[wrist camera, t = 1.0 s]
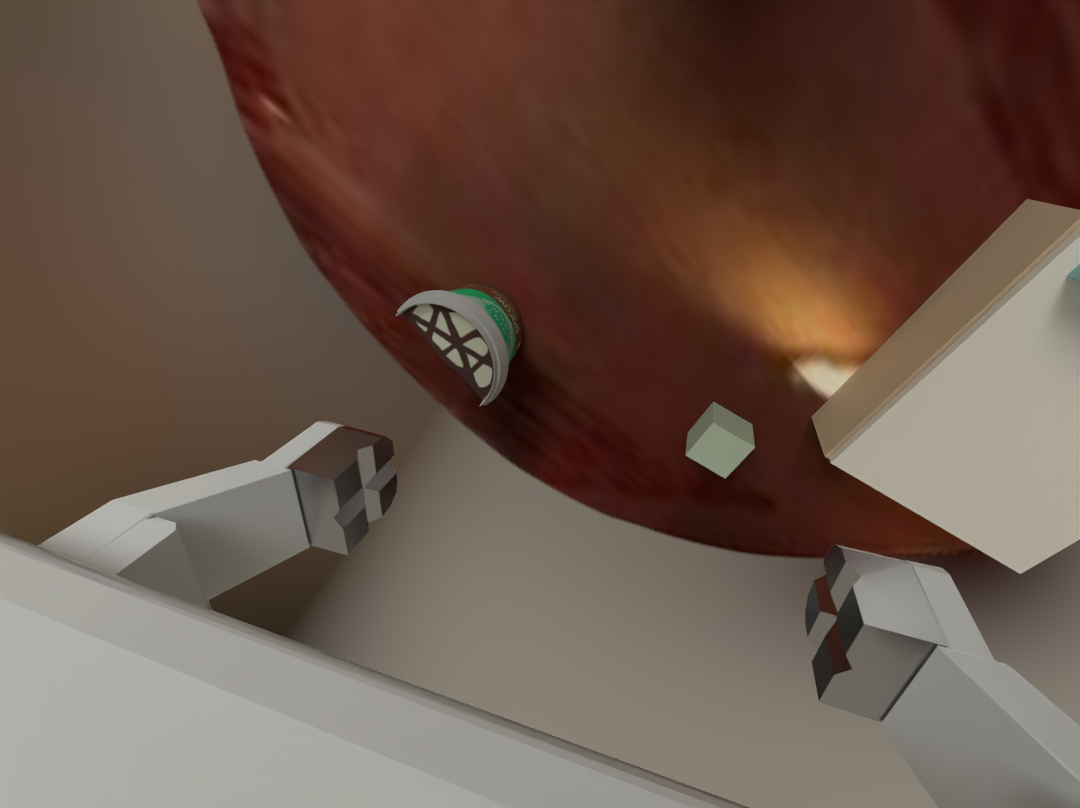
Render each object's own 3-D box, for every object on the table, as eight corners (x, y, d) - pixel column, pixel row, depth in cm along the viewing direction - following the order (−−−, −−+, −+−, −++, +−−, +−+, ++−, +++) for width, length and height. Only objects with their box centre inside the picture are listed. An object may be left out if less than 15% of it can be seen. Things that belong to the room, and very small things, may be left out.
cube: (713, 401, 50) (712, 422, 47) (752, 423, 50) (754, 447, 47) (687, 432, 53) (685, 455, 49) (724, 454, 53) (725, 478, 49)
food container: (558, 337, 52) (527, 376, 44) (519, 368, 55) (483, 411, 47) (478, 244, 50) (430, 266, 42) (442, 283, 53) (391, 311, 45)
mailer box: (1026, 199, 36) (1086, 211, 30) (1252, 325, 36) (1358, 363, 30) (811, 416, 48) (824, 456, 42) (977, 513, 48) (1014, 567, 42)
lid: (1089, 217, 30) (1140, 228, 26) (1354, 365, 30) (1443, 397, 26) (828, 457, 42) (839, 488, 38) (1015, 566, 41) (1043, 608, 38)
